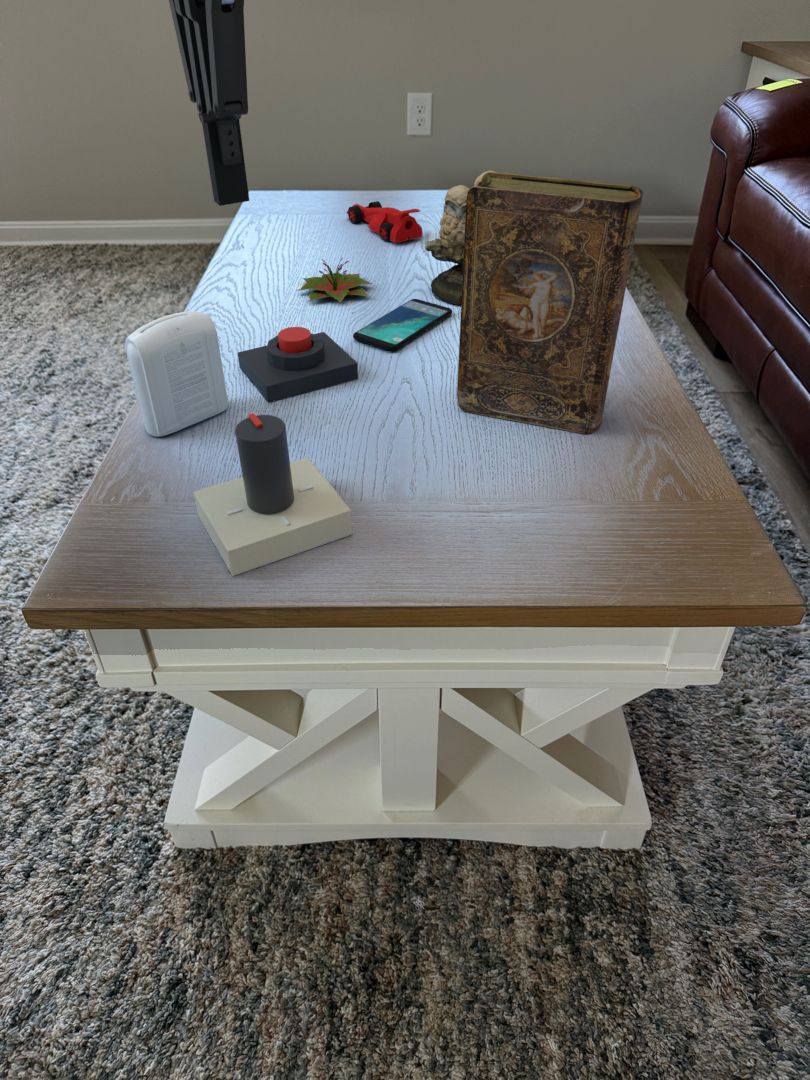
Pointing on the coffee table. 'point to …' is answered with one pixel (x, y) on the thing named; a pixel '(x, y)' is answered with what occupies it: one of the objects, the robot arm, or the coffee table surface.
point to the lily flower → (334, 284)
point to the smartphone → (402, 324)
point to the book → (543, 297)
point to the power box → (297, 367)
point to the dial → (265, 463)
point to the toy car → (387, 221)
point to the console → (273, 520)
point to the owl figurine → (451, 244)
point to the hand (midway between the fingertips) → (231, 200)
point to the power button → (294, 339)
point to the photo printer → (177, 371)
